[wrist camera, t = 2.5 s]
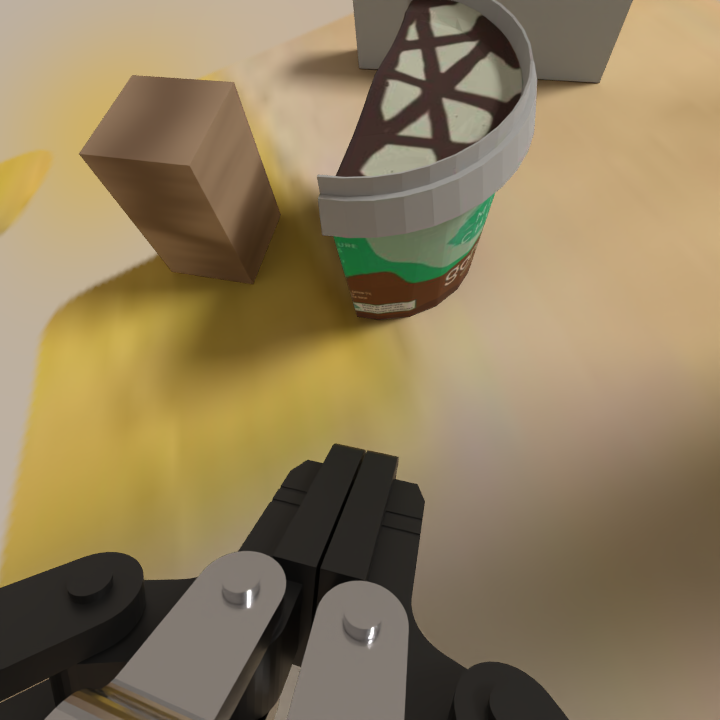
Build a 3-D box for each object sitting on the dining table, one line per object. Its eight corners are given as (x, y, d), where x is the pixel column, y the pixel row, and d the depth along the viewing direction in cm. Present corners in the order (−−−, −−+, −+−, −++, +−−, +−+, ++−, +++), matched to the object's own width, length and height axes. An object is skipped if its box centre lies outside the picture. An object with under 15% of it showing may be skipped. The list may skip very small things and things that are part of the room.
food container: (471, 370, 21) (521, 223, 12) (348, 341, 22) (310, 189, 13) (512, 182, 26) (571, -26, 17) (409, 167, 27) (411, -34, 18)
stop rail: (600, 59, 29) (635, -33, 25) (599, 82, 29) (636, -9, 24) (366, 47, 32) (360, -37, 28) (359, 68, 31) (351, -16, 27)
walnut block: (280, 214, 26) (234, 82, 19) (253, 284, 24) (189, 165, 17) (204, 205, 27) (132, 75, 20) (172, 271, 25) (79, 153, 18)
